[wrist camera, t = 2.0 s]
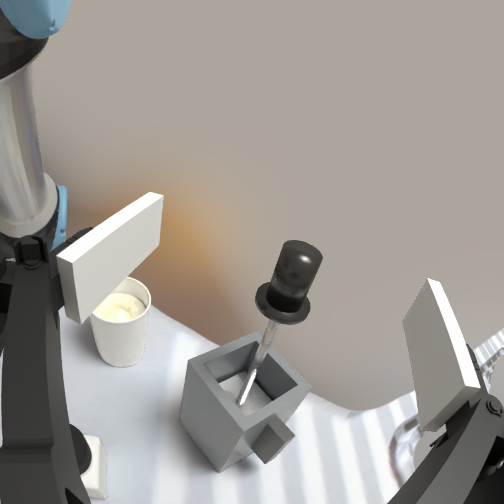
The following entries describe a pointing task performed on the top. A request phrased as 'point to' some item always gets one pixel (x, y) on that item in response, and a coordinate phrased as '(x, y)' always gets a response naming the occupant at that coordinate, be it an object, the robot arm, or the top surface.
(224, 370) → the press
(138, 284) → the candle holder
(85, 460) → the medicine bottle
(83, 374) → the top surface
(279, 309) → the plunger
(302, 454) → the top surface
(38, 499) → the robot arm
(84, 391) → the top surface
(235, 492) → the top surface
